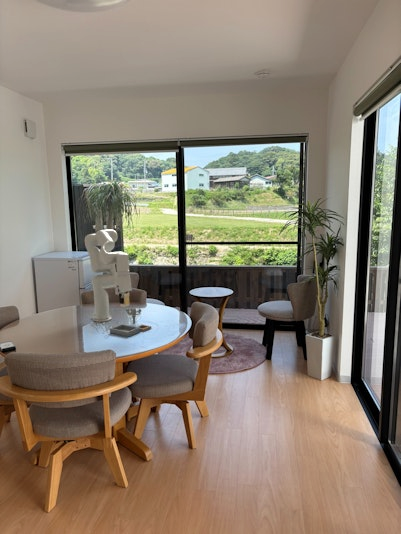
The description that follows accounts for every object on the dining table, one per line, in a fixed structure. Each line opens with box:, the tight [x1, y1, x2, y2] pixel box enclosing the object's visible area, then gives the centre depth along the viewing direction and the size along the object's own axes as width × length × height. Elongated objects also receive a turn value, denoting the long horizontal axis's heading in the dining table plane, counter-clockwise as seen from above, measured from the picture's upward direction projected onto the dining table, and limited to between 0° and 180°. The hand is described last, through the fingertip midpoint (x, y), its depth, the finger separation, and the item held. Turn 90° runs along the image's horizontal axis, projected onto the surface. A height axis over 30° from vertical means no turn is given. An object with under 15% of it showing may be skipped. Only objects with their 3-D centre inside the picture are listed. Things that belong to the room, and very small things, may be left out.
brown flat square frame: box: [136, 324, 152, 333], centre depth 257 cm, size 8×8×2 cm
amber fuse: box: [119, 292, 131, 308], centre depth 248 cm, size 4×4×8 cm
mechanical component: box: [125, 307, 142, 325], centre depth 270 cm, size 3×10×10 cm, turn 79°
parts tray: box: [109, 323, 141, 338], centre depth 250 cm, size 15×11×3 cm
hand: (124, 302), depth 248 cm, fingers closed on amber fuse, 4 cm apart
